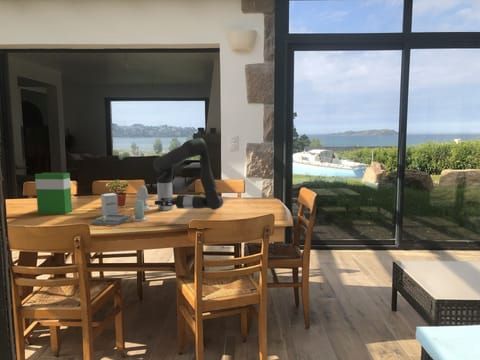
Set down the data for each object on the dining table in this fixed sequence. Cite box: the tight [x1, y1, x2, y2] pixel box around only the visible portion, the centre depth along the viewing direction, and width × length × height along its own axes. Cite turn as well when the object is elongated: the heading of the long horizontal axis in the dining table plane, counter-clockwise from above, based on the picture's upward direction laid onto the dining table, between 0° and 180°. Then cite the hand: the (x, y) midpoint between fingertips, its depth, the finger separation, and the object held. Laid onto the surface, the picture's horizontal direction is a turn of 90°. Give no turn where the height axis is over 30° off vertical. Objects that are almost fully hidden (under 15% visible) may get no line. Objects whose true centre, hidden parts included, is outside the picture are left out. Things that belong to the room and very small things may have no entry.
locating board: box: [91, 213, 132, 227], centre depth 220 cm, size 18×14×4 cm
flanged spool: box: [131, 199, 148, 223], centre depth 223 cm, size 8×8×11 cm
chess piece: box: [133, 185, 151, 211], centre depth 252 cm, size 10×10×15 cm
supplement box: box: [100, 192, 119, 216], centre depth 235 cm, size 7×7×13 cm
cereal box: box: [34, 172, 73, 215], centre depth 242 cm, size 18×7×24 cm, turn 84°
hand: (157, 201), depth 220 cm, fingers open, 8 cm apart
